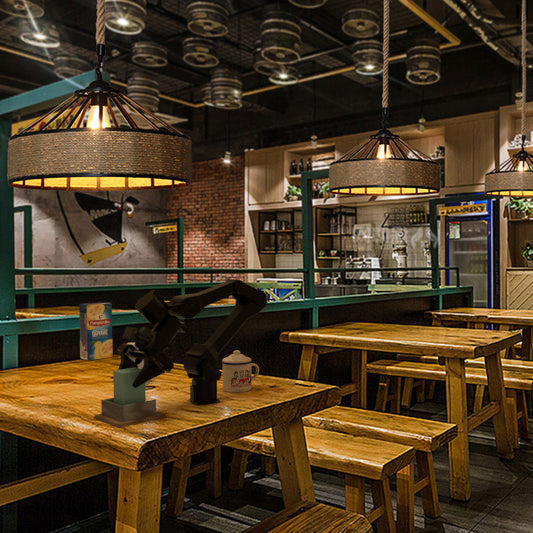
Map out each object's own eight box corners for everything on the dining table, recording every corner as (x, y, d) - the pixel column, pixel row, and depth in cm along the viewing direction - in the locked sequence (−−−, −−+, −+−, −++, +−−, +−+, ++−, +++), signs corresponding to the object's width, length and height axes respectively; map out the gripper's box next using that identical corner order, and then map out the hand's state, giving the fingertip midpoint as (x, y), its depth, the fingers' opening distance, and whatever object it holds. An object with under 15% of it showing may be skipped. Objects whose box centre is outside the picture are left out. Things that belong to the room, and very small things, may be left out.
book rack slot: (140, 408, 156) (139, 391, 156) (165, 417, 147) (165, 399, 147) (94, 418, 147) (94, 400, 147) (118, 427, 138) (118, 408, 138)
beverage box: (112, 356, 242) (112, 303, 242) (87, 360, 235) (86, 304, 235) (104, 355, 247) (103, 302, 247) (79, 358, 240) (79, 304, 240)
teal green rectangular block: (135, 410, 151) (134, 367, 151) (145, 414, 147) (145, 369, 147) (114, 414, 147) (113, 370, 147) (124, 418, 143) (123, 373, 143)
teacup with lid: (230, 394, 172) (230, 354, 171) (217, 388, 179) (216, 350, 179) (266, 389, 178) (265, 350, 178) (251, 384, 185) (251, 346, 185)
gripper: (123, 312, 156) (84, 359, 149) (162, 317, 143) (122, 369, 135) (149, 339, 162) (113, 386, 154) (190, 346, 148) (152, 397, 141)
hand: (124, 384), depth 146 cm, fingers open, 8 cm apart
